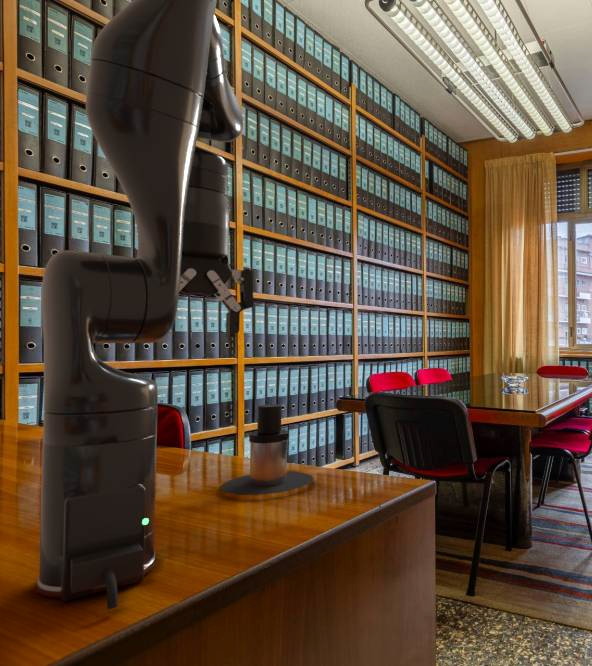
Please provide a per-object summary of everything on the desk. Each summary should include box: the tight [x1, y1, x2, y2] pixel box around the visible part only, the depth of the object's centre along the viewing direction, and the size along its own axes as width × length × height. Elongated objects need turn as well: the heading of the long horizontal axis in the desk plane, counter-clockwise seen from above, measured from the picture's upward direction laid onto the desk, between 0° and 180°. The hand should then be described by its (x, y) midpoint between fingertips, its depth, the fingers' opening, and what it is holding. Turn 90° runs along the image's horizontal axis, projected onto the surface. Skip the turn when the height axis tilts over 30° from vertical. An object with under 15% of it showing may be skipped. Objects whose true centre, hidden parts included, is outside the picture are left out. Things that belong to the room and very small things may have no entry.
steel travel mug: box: [248, 403, 290, 487], centre depth 84 cm, size 8×6×13 cm
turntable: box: [220, 470, 314, 496], centre depth 83 cm, size 14×14×1 cm
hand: (197, 336), depth 72 cm, fingers open, 8 cm apart
